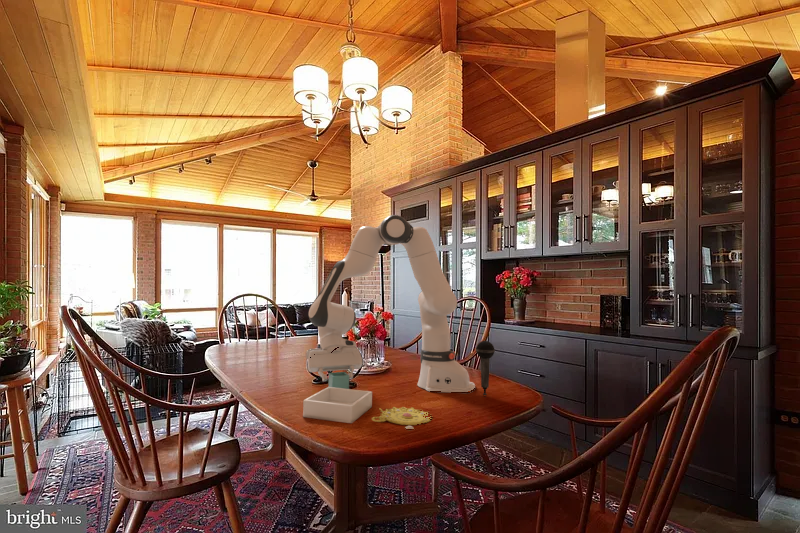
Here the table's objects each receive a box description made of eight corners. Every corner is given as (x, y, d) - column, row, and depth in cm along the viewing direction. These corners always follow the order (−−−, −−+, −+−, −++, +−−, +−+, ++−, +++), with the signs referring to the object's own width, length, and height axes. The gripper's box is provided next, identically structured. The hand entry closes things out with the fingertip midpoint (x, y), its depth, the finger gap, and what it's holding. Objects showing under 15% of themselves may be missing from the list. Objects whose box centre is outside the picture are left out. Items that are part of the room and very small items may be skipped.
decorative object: (448, 418, 119) (388, 426, 109) (447, 427, 119) (387, 435, 109) (412, 399, 137) (357, 404, 127) (411, 406, 137) (357, 412, 127)
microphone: (494, 400, 142) (495, 342, 143) (475, 398, 143) (475, 341, 144) (494, 394, 149) (494, 339, 149) (475, 393, 150) (475, 339, 151)
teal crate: (344, 392, 149) (344, 371, 149) (348, 396, 143) (349, 375, 143) (328, 393, 147) (328, 372, 147) (332, 398, 141) (332, 376, 141)
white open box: (371, 406, 132) (372, 391, 133) (351, 423, 117) (352, 406, 117) (327, 401, 137) (328, 386, 137) (303, 416, 122) (303, 400, 122)
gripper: (306, 344, 149) (310, 376, 140) (359, 341, 157) (366, 372, 147) (304, 354, 153) (307, 386, 144) (356, 351, 161) (362, 381, 151)
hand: (338, 379), depth 146 cm, fingers open, 8 cm apart
